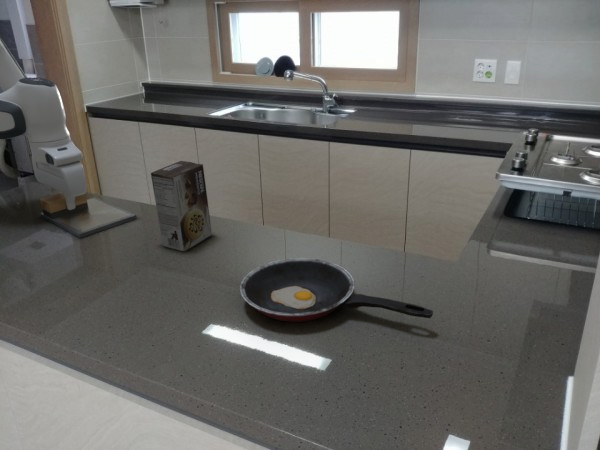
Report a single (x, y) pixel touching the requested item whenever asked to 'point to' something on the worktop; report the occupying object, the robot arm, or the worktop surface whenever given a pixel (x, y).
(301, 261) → the frying pan
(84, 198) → the eraser
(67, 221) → the whiteboard
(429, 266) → the worktop surface
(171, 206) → the coffee box
